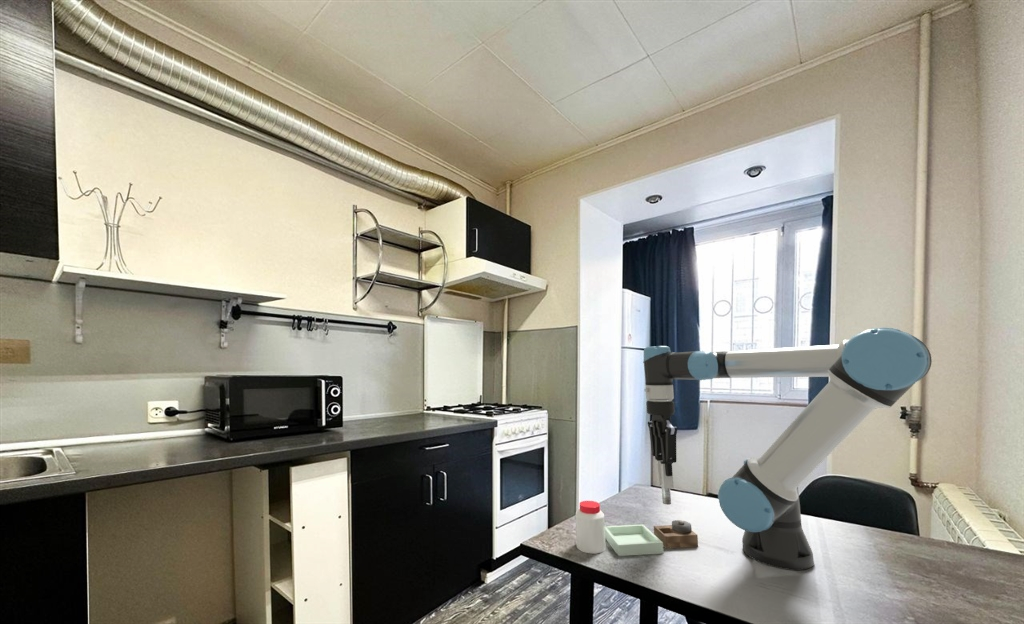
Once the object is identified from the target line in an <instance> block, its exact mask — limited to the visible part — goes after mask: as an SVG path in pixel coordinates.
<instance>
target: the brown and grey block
mask: <svg viewBox="0 0 1024 624" xmlns="http://www.w3.org/2000/svg"><path fill="white" fill-rule="evenodd" d="M653 534H654V535H655V536H656V537H657V538H658V539H660V540H661V541H662V542H663V548H665V549H678V548H679V549H681V548H697V547H698V548H699V541H698V540H699V537H698V534H697V533H696V532H694V531H693V530H692V524H691V523H690V522H688V521H685V520H682V519H681V520H678V519H677V520H673V521H671V524H670V525H654V526H653Z"/></svg>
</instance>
